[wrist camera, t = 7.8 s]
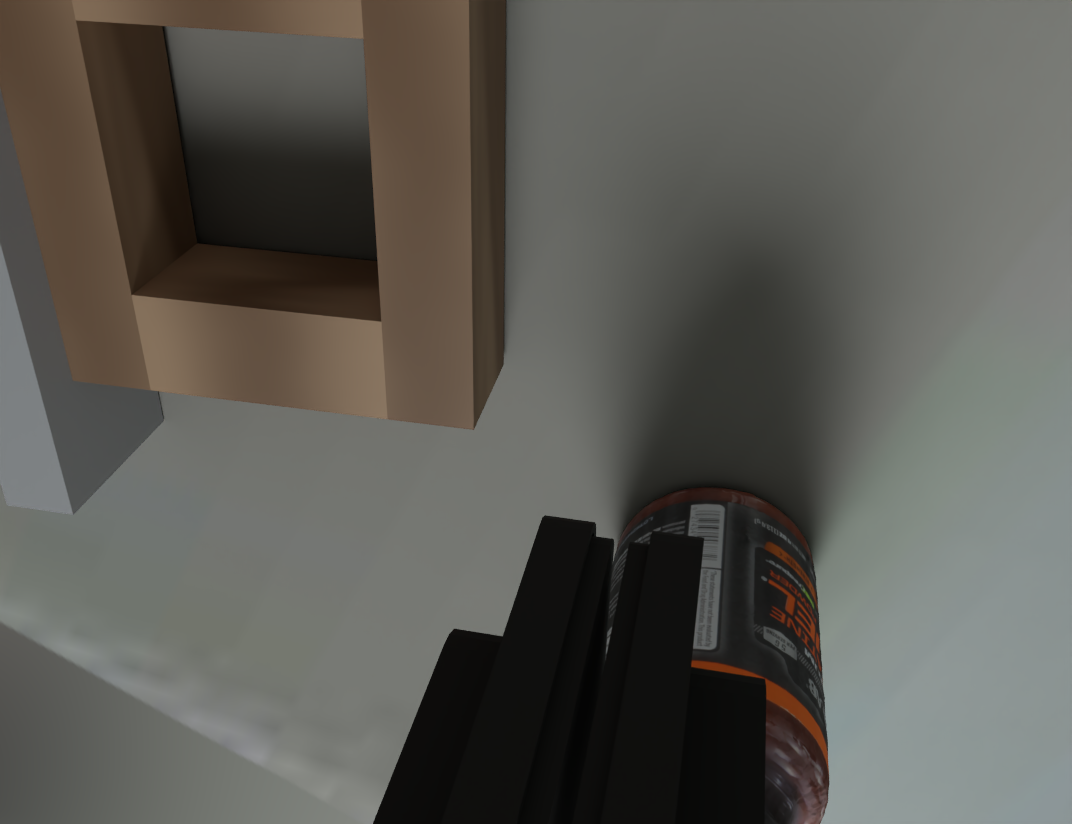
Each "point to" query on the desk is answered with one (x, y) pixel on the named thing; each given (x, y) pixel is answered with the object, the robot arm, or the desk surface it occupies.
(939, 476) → the desk surface
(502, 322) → the socket block
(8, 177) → the wall
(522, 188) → the desk surface
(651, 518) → the supplement bottle
